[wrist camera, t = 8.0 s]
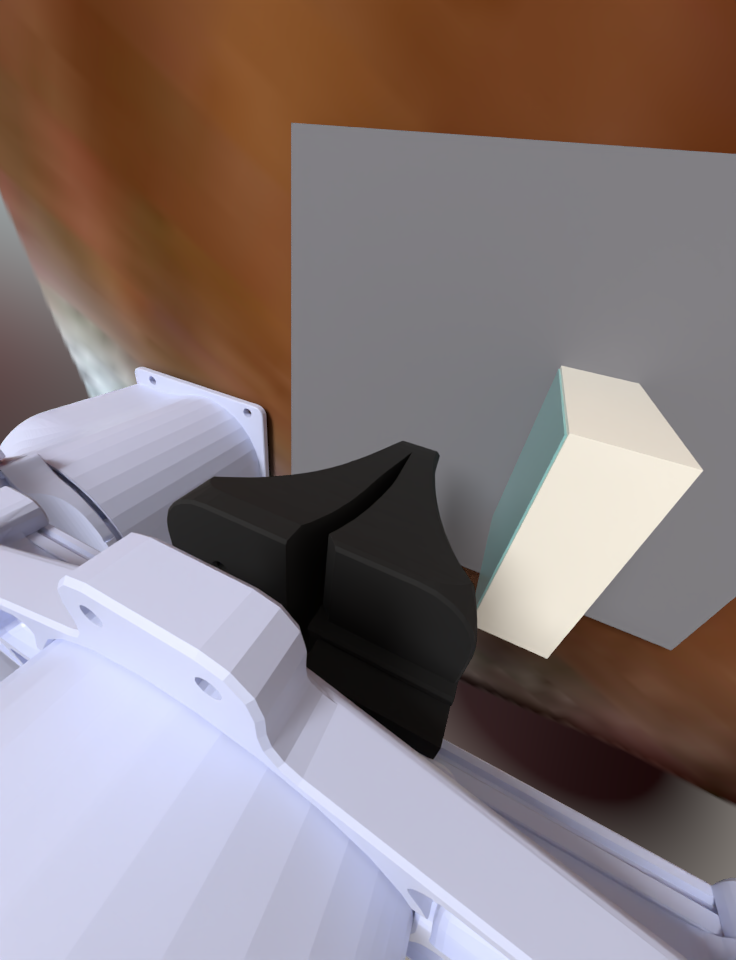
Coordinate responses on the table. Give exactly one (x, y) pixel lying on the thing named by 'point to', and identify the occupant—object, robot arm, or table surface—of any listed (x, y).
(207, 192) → the table surface
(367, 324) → the mat
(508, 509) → the tile
